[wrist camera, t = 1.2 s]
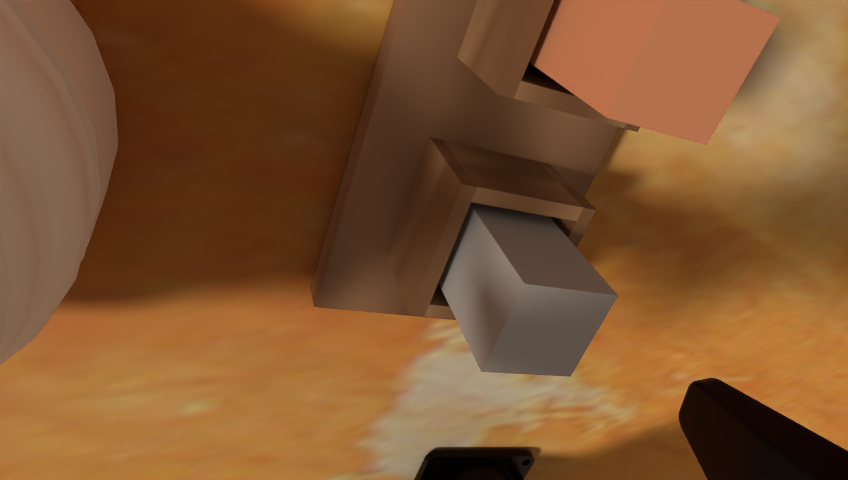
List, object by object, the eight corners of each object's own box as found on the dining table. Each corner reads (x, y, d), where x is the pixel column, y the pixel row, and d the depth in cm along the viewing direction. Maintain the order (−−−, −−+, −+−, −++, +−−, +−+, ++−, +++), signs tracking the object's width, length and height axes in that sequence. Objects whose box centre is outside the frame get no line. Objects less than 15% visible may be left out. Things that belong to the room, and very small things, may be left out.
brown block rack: (877, -449, 15) (1084, -542, 12) (508, 308, 27) (553, 382, 23) (602, -717, 12) (773, -973, 8) (310, 287, 23) (326, 371, 19)
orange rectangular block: (651, -23, 17) (781, 18, 13) (602, 80, 18) (706, 144, 14) (564, -59, 15) (676, -26, 12) (518, 54, 17) (606, 117, 13)
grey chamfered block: (542, 208, 20) (618, 295, 16) (508, 280, 21) (570, 376, 17) (463, 193, 19) (524, 283, 15) (432, 270, 20) (481, 371, 16)
